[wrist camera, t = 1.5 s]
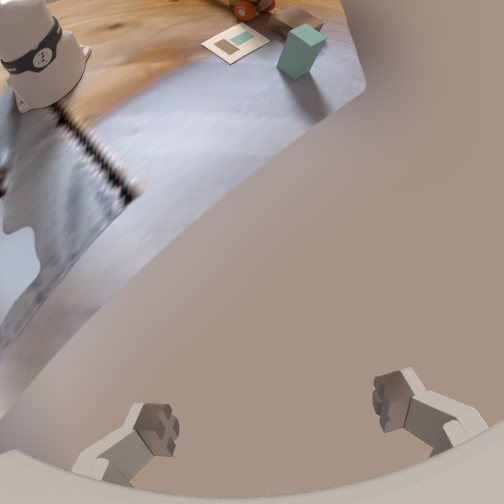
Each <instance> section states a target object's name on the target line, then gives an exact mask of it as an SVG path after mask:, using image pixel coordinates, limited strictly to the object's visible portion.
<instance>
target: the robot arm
mask: <svg viewBox="0 0 504 504" xmlns="http://www.w3.org/2000/svg"><path fill="white" fill-rule="evenodd" d="M90 53H91V49H90V48H89V47H87V46H84V45H81V44H78V42H77V40H76V38H75V37H74V35H73V33H72V32H68V31H63V30H62V29H61V27H60V23H59V22H58V21H57V19H56V18H55V17H54V16H52V15H51V13H50V11H49V9H48V6H47V4H46V2H45V0H0V58H1V63H2V65H3V67H4V68H5V69H6V70H7V71H8V72H9V73H10V74H9V75H8V76H7V77H6V80H7V82H8V85H9V86H10V87H11V88H12V89H13V91H14V92H15V97H16V101H17V106H18V110H19V111H20V112H21V113H24V112H26V111H28V110H30V109H33V108H43V107H46V106H49V105H51V104H53V103H55V102H57V101H58V100H60V99H61V98H62V97H64V96H65V95H66V94H67V93H68V92H69V91H70V90H71V89H72V88H73V87H74V86H75V85H76V84H77V82H78V81H79V79H80V78H81V76H82V74H83V72H84V68H85V62H86V59H87V58H88V56H89V55H90ZM374 386H375V388H376V389H375V391H374V392H373V398H372V399H373V406H374V409H375V412H376V414H378V415H379V416H380V420H379V422H380V425H381V427H382V429H383V432H384V433H387V432H390V431H394V430H397V429H400V428H404V429H406V430H407V431H409V432H410V433H412V434H413V435H415V436H416V437H418V438H419V439H421V440H422V441H424V442H425V443H427V444H428V445H430V446H431V447H433V450H432V453H431V455H430V457H429V458H428V459H425V460H423V461H420V462H418V463H415V464H413V465H410V466H407V467H404V468H401V469H399V470H396V471H393V472H390V473H386V474H383V475H380V476H377V477H373V478H370V479H366V480H362V481H358V482H354V483H350V484H345V485H341V486H336V487H331V488H326V489H320V490H314V491H308V492H301V493H293V494H284V495H273V496H257V497H204V496H188V495H178V494H169V493H162V492H155V491H148V490H142V489H137V488H134V487H133V486H132V485H131V484H130V483H129V482H128V481H129V480H130V479H132V478H133V477H134V476H135V475H136V474H137V473H138V472H139V471H140V470H141V469H142V468H143V467H144V466H145V465H146V464H147V463H148V462H149V461H150V460H151V459H152V458H153V457H154V456H165V457H166V456H167V457H172V456H173V452H174V449H175V443H174V440H175V439H176V438H177V437H178V435H179V423H178V420H177V418H176V417H175V416H174V415H172V414H171V412H172V409H171V407H170V405H169V404H157V403H155V404H154V403H135V404H133V406H132V408H131V410H130V412H129V414H128V416H127V418H126V420H125V422H124V424H123V426H122V428H118V429H116V430H115V431H114V432H112V433H110V434H109V435H107V436H106V437H104V438H103V439H101V440H100V441H98V442H97V443H95V444H94V445H92V446H90V447H89V448H87V449H86V450H84V451H82V452H81V454H80V455H79V457H78V459H77V461H76V463H75V465H74V467H73V468H72V470H71V471H68V470H66V469H63V468H60V467H57V466H55V465H52V464H50V463H47V462H44V461H42V460H40V459H37V458H35V457H33V456H30V455H28V454H26V453H24V452H22V451H20V450H11V451H8V452H5V453H3V454H1V455H0V504H504V419H503V420H501V421H499V422H498V423H496V424H495V425H493V426H491V427H490V428H488V426H487V425H486V423H485V422H484V420H483V419H482V417H481V416H480V414H479V413H478V411H477V410H476V409H475V408H473V407H470V406H468V405H465V404H463V403H460V402H457V401H455V400H453V399H450V398H447V397H445V396H442V395H440V394H438V393H435V392H433V391H427V390H426V389H425V388H424V386H423V384H422V383H421V381H420V380H419V378H418V377H417V375H416V374H415V372H414V371H413V369H412V368H411V367H408V368H404V369H401V370H398V371H395V372H392V373H389V374H385V375H382V376H378V377H375V379H374Z"/></svg>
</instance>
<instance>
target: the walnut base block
mask: <svg viewBox="0 0 504 504" xmlns="http://www.w3.org/2000/svg"><path fill="white" fill-rule="evenodd" d="M304 24H308V25H309V26H311V27H312V28H314V29H315V30H316V31H318V32H320V30H321V28H322V26H323V24H324V23H323V22H322V21H320V20H319V19H317V18H315V17H314V16H312V15H311V14H309V13H307V12H306V11H304V10H302V9H301V8H299V7H297V6H295V5H292V6H289V7H287V8H285V9H283V10H281V11H279V12H277V13H274V14H272V15H271V16H270V20H269V23H268V28H270V29H271V30H273V31H275V32H276V33H278V34H280V35H281V36H283V37H284V38H286V39H287V36H288V34H289V31H291V30H293V29H295V28H297V27H299V26H301V25H304Z"/></svg>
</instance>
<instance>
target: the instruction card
mask: <svg viewBox="0 0 504 504" xmlns="http://www.w3.org/2000/svg"><path fill="white" fill-rule="evenodd" d="M268 42H270V40H269V39H267V38H266V37H264V36H263V35H261V34H260V33H258V32H257V31H255V30H253V29H252V28H250V27H249V26H247V25H245V24H244V23H240V24H238V25H236V26H234V27H232V28H230V29H228V30H226V31H224V32H222V33H220V34H218V35H216V36H214V37H212V38H211V39H209V40H207V41H205V42H203V43H202V44H201V45H203V46H204V47H206V48H207V49H209V50H210V51H212V52H213V53H214V54H216V55H217V56H219V57H220V58H222V59H223V60H225V61H226V62H227V63H229V64H232V63H234V62H235V61H237V60H238V59H240V58H242V57H243V56H245V55H247V54H249V53H250V52H252V51H254V50H256V49H257V48H259V47H261V46H263V45H265V44H267V43H268Z"/></svg>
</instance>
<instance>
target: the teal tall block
mask: <svg viewBox="0 0 504 504" xmlns="http://www.w3.org/2000/svg"><path fill="white" fill-rule="evenodd" d="M326 39H327V38H326V37H325V36H323V35H322V34H321V33H319V32H318V31H316V30H315V29H314V28H312V27H311V26H309V25H308V24H304V25H301V26H299V27H297V28H295V29H293V30H291V31H289V34H288V36H287V39H286V42H285V44H284V47H283V50H282V53H281V55H280V58H279V61H278V64H277V66H276V67H277V68H279V69H280V70H281V71H283V72H284V73H285V74H286V75H288V76H289V77H290V78H291V79H293V80H294V81H295V80H297V79H298V78H300V77H301V76H303V75H304V74H306V73H307V72H309V71H310V69H311V67H312V65H313V63H314V61H315V59H316V57H317V56H318V54H319V52H320V50H321V48H322V46H323V44H324V43H325V41H326Z"/></svg>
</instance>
